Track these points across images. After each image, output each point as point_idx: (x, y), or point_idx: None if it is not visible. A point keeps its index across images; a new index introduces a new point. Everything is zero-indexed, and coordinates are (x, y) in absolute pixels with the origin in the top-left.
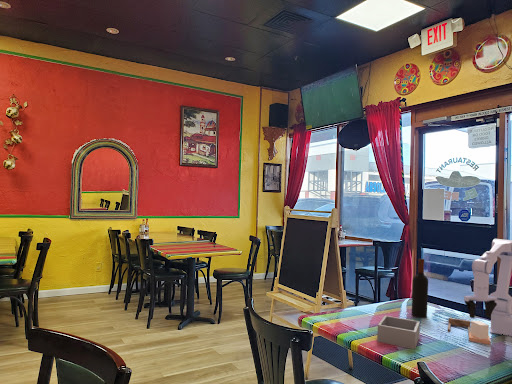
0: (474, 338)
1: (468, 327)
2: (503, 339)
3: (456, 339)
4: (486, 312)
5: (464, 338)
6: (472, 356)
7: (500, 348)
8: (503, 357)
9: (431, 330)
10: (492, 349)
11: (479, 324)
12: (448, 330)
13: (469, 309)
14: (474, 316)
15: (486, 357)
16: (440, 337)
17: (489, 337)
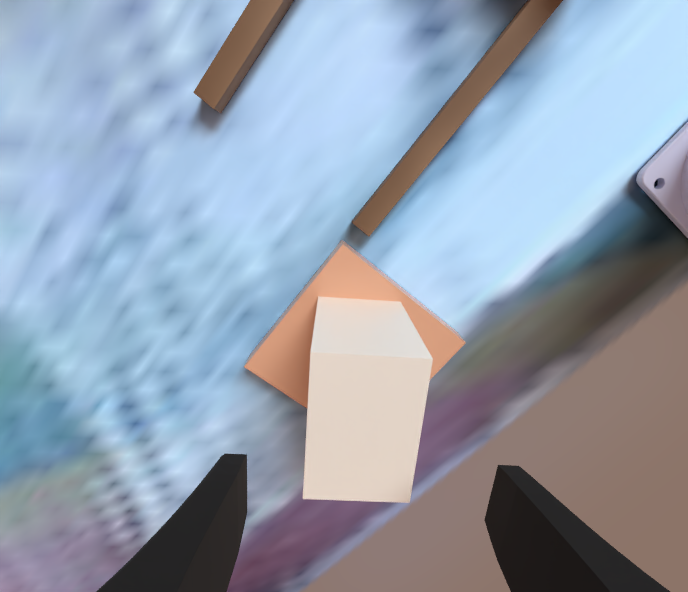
0: (277, 387)
1: (497, 47)
2: (580, 338)
3: (160, 318)
4: (538, 544)
5: (250, 300)
6: (93, 572)
7: None
8: (279, 588)
9: (25, 54)
10: None
11: (314, 477)
12: (206, 101)
13: (156, 575)
14: (237, 544)
15: None
16: (33, 266)
17: (432, 376)
